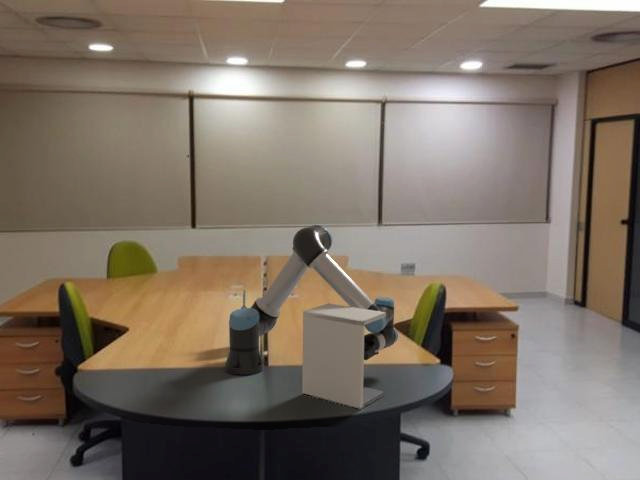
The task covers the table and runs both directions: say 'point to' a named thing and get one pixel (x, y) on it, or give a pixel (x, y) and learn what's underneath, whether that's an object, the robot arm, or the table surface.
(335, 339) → the shelf unit
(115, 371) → the table surface
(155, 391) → the table surface
